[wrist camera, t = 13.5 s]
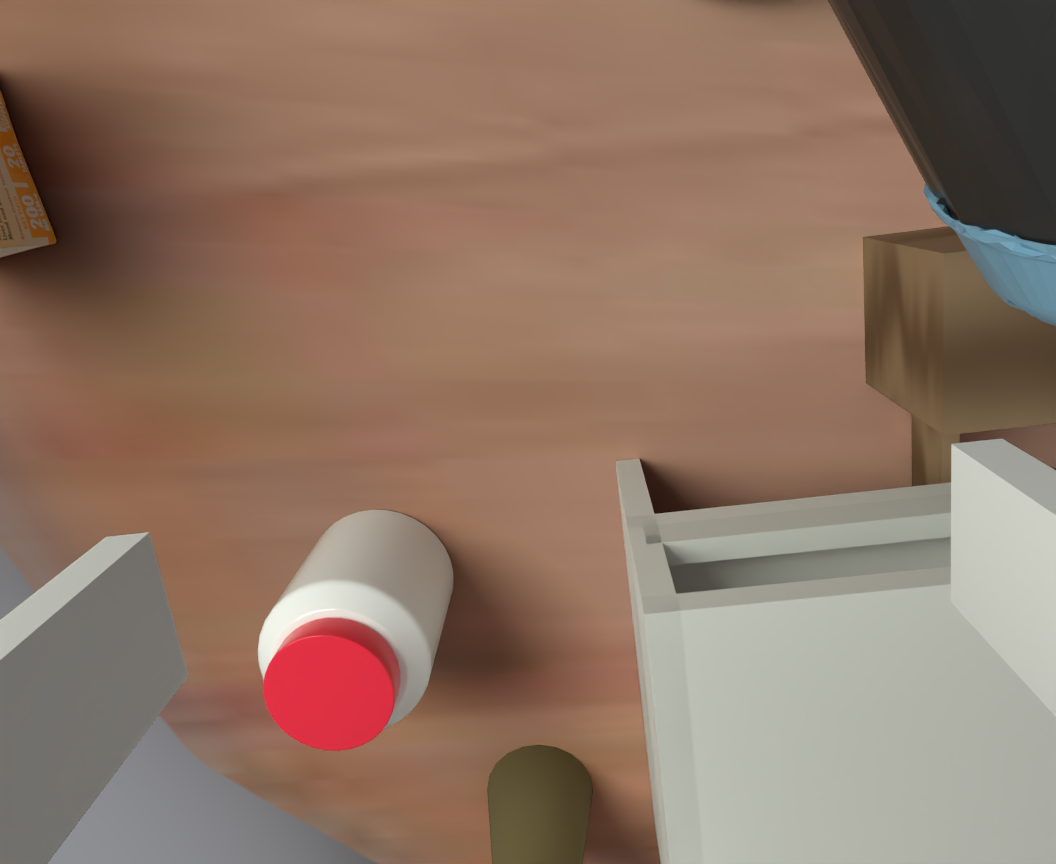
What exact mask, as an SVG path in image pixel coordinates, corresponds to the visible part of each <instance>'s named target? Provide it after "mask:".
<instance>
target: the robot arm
mask: <svg viewBox="0 0 1056 864" xmlns="http://www.w3.org/2000/svg"><path fill="white" fill-rule="evenodd" d="M828 2H829V4H830V5H831V7H832V9H833V11H834V13H835V15H836V17H837V18H838V20H839V22H840V24H841V26H842V28H843V30H844V32H845V33H846V35H847V37H848V39H849V41H850V43H851V45H852V46H853V48H854V50H855V52H856V54H857V56H858V58H859V60H860V61H861V63H862V65H863V67H864V69H865V71H866V73H867V74H868V76H869V78H870V80H871V82H872V84H873V86H874V87H875V89H876V91H877V93H878V95H879V97H880V99H881V101H882V102H883V104H884V106H885V108H886V110H887V112H888V114H889V115H890V117H891V119H892V121H893V123H894V125H895V127H896V129H897V130H898V132H899V134H900V136H901V138H902V140H903V142H904V143H905V145H906V147H907V149H908V151H909V153H910V155H911V156H912V158H913V160H914V162H915V164H916V166H917V168H918V170H919V171H920V173H921V175H922V177H923V179H924V181H925V190H924V193H925V196H926V197H927V199H928V201H929V204H930V206H931V208H932V210H933V211H934V212H935V213H936V214H937V216H938V217H939V218H940V219H941V220H942V221H943V222H945V223H946V224H947V225H948V226H950V227H951V228H952V229H954V230H955V232H956V234H957V235H958V237H959V239H960V240H961V242H962V244H963V245H964V247H965V248H966V250H967V252H968V253H969V255H970V257H971V258H972V260H973V262H974V263H975V265H976V267H977V268H978V270H979V272H980V273H981V275H982V277H983V278H984V280H985V281H986V283H987V284H988V285H989V287H990V288H991V289H992V290H993V291H994V292H995V293H996V294H997V295H998V296H999V297H1000V298H1001V299H1002V300H1003V301H1004V302H1005V303H1007V304H1008V305H1010V306H1012V307H1015V308H1017V309H1020V310H1023V311H1025V312H1027V313H1028V314H1029V315H1030V316H1033V317H1036V318H1037V319H1039V320H1040V321H1042V322H1044V323H1047V324H1050V325H1053V326H1056V0H828ZM951 603H952V604H953V605H954V606H955V607H956V608H957V609H958V610H959V612H960V613H961V614H962V615H963V616H964V617H965V618H966V619H967V620H968V621H969V622H970V624H971V625H972V626H973V627H974V628H975V629H976V630H977V631H978V632H979V633H980V635H981V636H982V637H983V638H984V639H985V640H986V641H987V642H988V643H989V644H990V645H991V647H992V648H993V649H994V650H995V651H996V652H997V653H998V654H999V655H1000V656H1001V657H1002V659H1003V660H1004V661H1005V662H1006V663H1007V664H1008V665H1009V666H1010V667H1011V668H1012V670H1013V671H1014V672H1015V673H1016V674H1017V675H1018V676H1019V677H1020V678H1021V679H1022V680H1023V682H1024V683H1025V684H1026V685H1027V686H1028V687H1029V688H1030V689H1031V690H1032V691H1033V692H1034V694H1035V695H1036V696H1037V697H1038V698H1039V699H1040V700H1041V701H1042V702H1043V703H1044V705H1045V706H1046V707H1047V708H1048V709H1049V710H1050V711H1051V712H1052V713H1053V714H1054V715H1055V717H1056V470H1054V469H1052V468H1051V467H1049V466H1047V465H1046V464H1044V463H1042V462H1041V461H1039V460H1037V459H1036V458H1034V457H1032V456H1031V455H1029V454H1027V453H1026V452H1024V451H1022V450H1020V449H1019V448H1017V447H1015V446H1014V445H1012V444H1010V443H1009V442H1007V441H1005V440H1004V439H1002V438H1001V439H992V440H983V441H974V442H964V443H955V444H951ZM187 677H188V672H187V669H186V665H185V661H184V658H183V654H182V650H181V647H180V643H179V639H178V636H177V632H176V628H175V625H174V621H173V617H172V614H171V610H170V606H169V603H168V599H167V595H166V592H165V588H164V584H163V581H162V577H161V573H160V570H159V566H158V562H157V559H156V555H155V551H154V548H153V544H152V540H151V537H150V533H149V532H147V533H138V534H129V535H120V536H111V537H105V538H104V539H103V540H101V541H100V542H99V543H98V544H96V545H95V546H94V547H93V548H91V549H90V550H89V551H87V552H86V553H85V554H84V555H82V556H81V557H80V558H79V559H77V560H76V561H75V562H73V563H72V564H71V565H70V566H68V567H67V568H66V569H65V570H63V571H62V572H61V573H59V574H58V575H57V576H56V577H54V578H53V579H52V580H51V581H49V582H48V583H47V584H45V585H44V586H43V587H42V588H40V589H39V590H38V591H37V592H35V593H34V594H33V595H32V596H30V597H29V598H28V599H26V600H25V601H24V602H23V603H22V604H20V605H19V606H18V607H16V608H15V609H14V610H12V611H11V612H10V613H9V614H7V615H6V616H5V617H4V618H2V619H1V620H0V864H47V863H48V862H49V861H50V859H51V858H52V857H53V855H54V854H55V853H56V851H57V850H58V849H59V847H60V846H61V845H62V843H63V842H64V841H65V839H66V838H67V837H68V835H69V834H70V833H71V831H72V830H73V829H74V827H75V826H76V825H77V823H78V822H79V821H80V819H81V818H82V816H83V815H84V814H85V813H86V811H87V810H88V809H89V807H90V806H91V805H92V803H93V802H94V801H95V799H96V798H97V797H98V795H99V794H100V793H101V791H102V790H103V789H104V787H105V786H106V785H107V783H108V782H109V781H110V780H111V778H112V777H113V776H114V774H115V773H116V772H117V770H118V769H119V767H120V766H121V765H122V764H123V762H124V761H125V759H126V758H127V757H128V756H129V754H130V753H131V752H132V750H133V749H134V748H135V746H136V745H137V744H138V742H139V741H140V740H141V738H142V737H143V736H144V734H145V733H146V732H147V730H148V729H149V728H150V726H151V725H152V724H153V722H154V721H155V720H156V718H157V717H158V716H159V714H160V713H161V712H162V710H163V709H164V708H165V706H166V705H167V704H168V702H169V701H170V700H171V698H172V697H173V696H174V694H175V693H176V692H177V690H178V689H179V688H180V686H181V685H182V684H183V682H184V681H185V680H186V678H187Z"/></svg>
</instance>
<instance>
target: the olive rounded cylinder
mask: <svg viewBox="0 0 1056 864" xmlns="http://www.w3.org/2000/svg"><path fill="white" fill-rule="evenodd" d="M487 792H488V807H489V822H490V837H491V852H492V864H582V863H583V856H584V849H585V842H586V835H587V828H588V821H589V814H590V807H591V800H592V793H593V789H592V784H591V778H590V776H589V774H588V772H587V771H586V769H585V767H584V766H583V764H582V763H581V762H579V761H578V760H577V759H576V758H575V757H574V756H572V755H571V754H569V753H567V752H565V751H563V750H560V749H558V748H556V747H549V746H543V745H535V746H527V747H522V748H519V749H517V750H515V751H512V752H510V753H508V754H507V755H506V756H504V757H503V758H502V759H501V760H500V761H499V762H498V763H496V765H495V767H494V769H493V770H492V772H491V774H490V776H489V782H488V789H487Z"/></svg>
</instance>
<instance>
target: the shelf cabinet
mask: <svg viewBox="0 0 1056 864" xmlns="http://www.w3.org/2000/svg"><path fill="white" fill-rule="evenodd" d="M616 469H617V479H618V488H619V497H620V506H621V516H622V525H623V534H624V544H625V553H626V562H627V571H628V581H629V590H630V599H631V608H632V618H633V627H634V636H635V645H636V655H637V664H638V673H639V682H640V692H641V701H642V710H643V719H644V729H645V738H646V747H647V757H648V766H649V775H650V784H651V794H652V803H653V812H654V821H655V828H656V835H657V842H658V849H659V856H660V863H661V864H1056V717H1055V715H1054V714H1053V713H1052V712H1051V711H1050V710H1049V709H1048V708H1047V707H1046V706H1045V705H1044V703H1043V702H1042V701H1041V700H1040V699H1039V698H1038V697H1037V696H1036V695H1035V694H1034V692H1033V691H1032V690H1031V689H1030V688H1029V687H1028V686H1027V685H1026V684H1025V683H1024V682H1023V680H1022V679H1021V678H1020V677H1019V676H1018V675H1017V674H1016V673H1015V672H1014V671H1013V670H1012V668H1011V667H1010V666H1009V665H1008V664H1007V663H1006V662H1005V661H1004V660H1003V659H1002V657H1001V656H1000V655H999V654H998V653H997V652H996V651H995V650H994V649H993V648H992V647H991V645H990V644H989V643H988V642H987V641H986V640H985V639H984V638H983V637H982V636H981V635H980V633H979V632H978V631H977V630H976V629H975V628H974V627H973V626H972V625H971V624H970V622H969V621H968V620H967V619H966V618H965V617H964V616H963V615H962V614H961V613H960V612H959V610H958V609H957V608H956V607H955V606H954V605H953V604H952V603H951V482H950V483H940V484H931V485H922V486H912V487H903V488H893V489H884V490H875V491H865V492H856V493H846V494H837V495H828V496H818V497H809V498H800V499H790V500H781V501H771V502H762V503H753V504H743V505H734V506H725V507H715V508H706V509H696V510H687V511H678V512H668V513H659V514H654V511H653V507H652V503H651V500H650V496H649V492H648V489H647V485H646V481H645V478H644V474H643V470H642V467H641V463H640V459H631V460H622V461H616Z"/></svg>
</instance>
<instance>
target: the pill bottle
mask: <svg viewBox="0 0 1056 864" xmlns="http://www.w3.org/2000/svg"><path fill="white" fill-rule="evenodd" d="M453 587H454V573H453V568H452V564H451V560H450V557H449V555H448V553H447V551H446V549H445V547H444V545H443V544H442V543H441V541H440V540H439V538H438V537H437V536H436V535H435V534H434V533H433V532H432V531H431V530H430V529H429V528H428V527H427V526H425V525H424V524H422V523H420V522H419V521H417V520H416V519H414V518H412V517H409V516H407V515H405V514H402V513H399V512H394V511H389V510H373V509H372V510H366V511H359V512H356V513H353V514H350V515H348V516H345V517H343V518H342V519H340V520H339V521H337V522H335V523H334V524H333V525H331V526H330V527H329V528H328V529H327V530H326V531H325V532H324V533H323V535H322V536H321V538H320V539H319V541H318V542H317V543H316V545H315V546H314V548H313V549H312V551H311V552H310V554H309V555H308V557H307V558H306V560H305V561H304V563H303V564H302V566H301V567H300V569H299V570H298V572H297V573H296V575H295V576H294V578H293V579H292V581H291V582H290V584H289V585H288V587H287V588H286V590H285V591H284V593H283V594H282V596H281V597H280V599H279V600H278V602H277V603H276V605H275V606H274V607H273V609H272V610H271V612H270V613H269V615H268V616H267V618H266V620H265V622H264V625H263V628H262V630H261V633H260V638H259V645H258V660H259V667H260V671H261V674H262V677H263V680H264V683H263V691H264V699H265V702H266V706H267V709H268V711H269V712H270V714H271V716H272V718H273V720H274V721H275V722H276V723H277V724H278V726H279V727H280V728H281V729H282V730H283V731H284V732H286V733H287V734H288V735H289V736H290V737H292V738H294V739H295V740H297V741H299V742H300V743H302V744H305V745H308V746H310V747H313V748H317V749H322V750H333V751H340V750H347V749H352V748H355V747H358V746H361V745H363V744H365V743H367V742H369V741H371V740H372V739H373V738H375V737H376V736H377V735H378V734H379V733H380V732H381V731H382V730H383V729H386V728H388V727H390V726H392V725H394V724H395V723H397V722H399V721H401V720H402V719H403V718H404V717H405V716H406V715H408V714H409V713H410V712H411V711H412V710H413V709H414V707H415V706H416V705H417V704H418V702H419V701H420V700H421V698H422V696H423V694H424V692H425V690H426V688H427V686H428V683H429V680H430V676H431V672H432V668H433V665H434V661H435V657H436V653H437V649H438V646H439V642H440V638H441V634H442V631H443V627H444V623H445V619H446V616H447V612H448V608H449V604H450V601H451V596H452V591H453Z"/></svg>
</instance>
